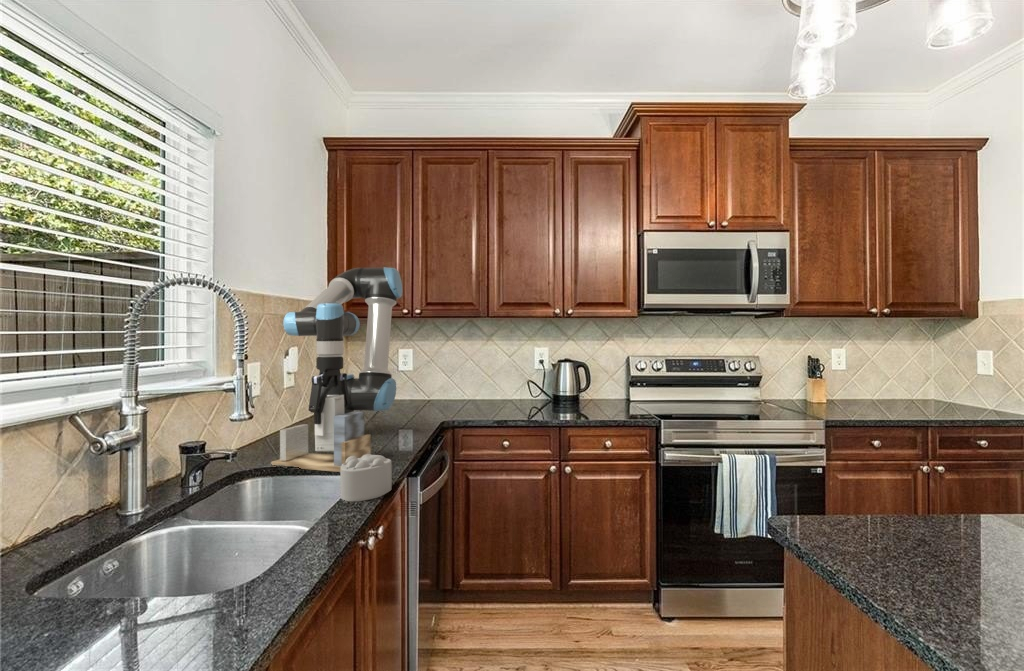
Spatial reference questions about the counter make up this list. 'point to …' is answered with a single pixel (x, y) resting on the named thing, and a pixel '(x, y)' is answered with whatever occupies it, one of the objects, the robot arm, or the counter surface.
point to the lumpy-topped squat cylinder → (365, 477)
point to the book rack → (337, 445)
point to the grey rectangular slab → (293, 442)
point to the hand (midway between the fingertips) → (330, 432)
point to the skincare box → (329, 422)
